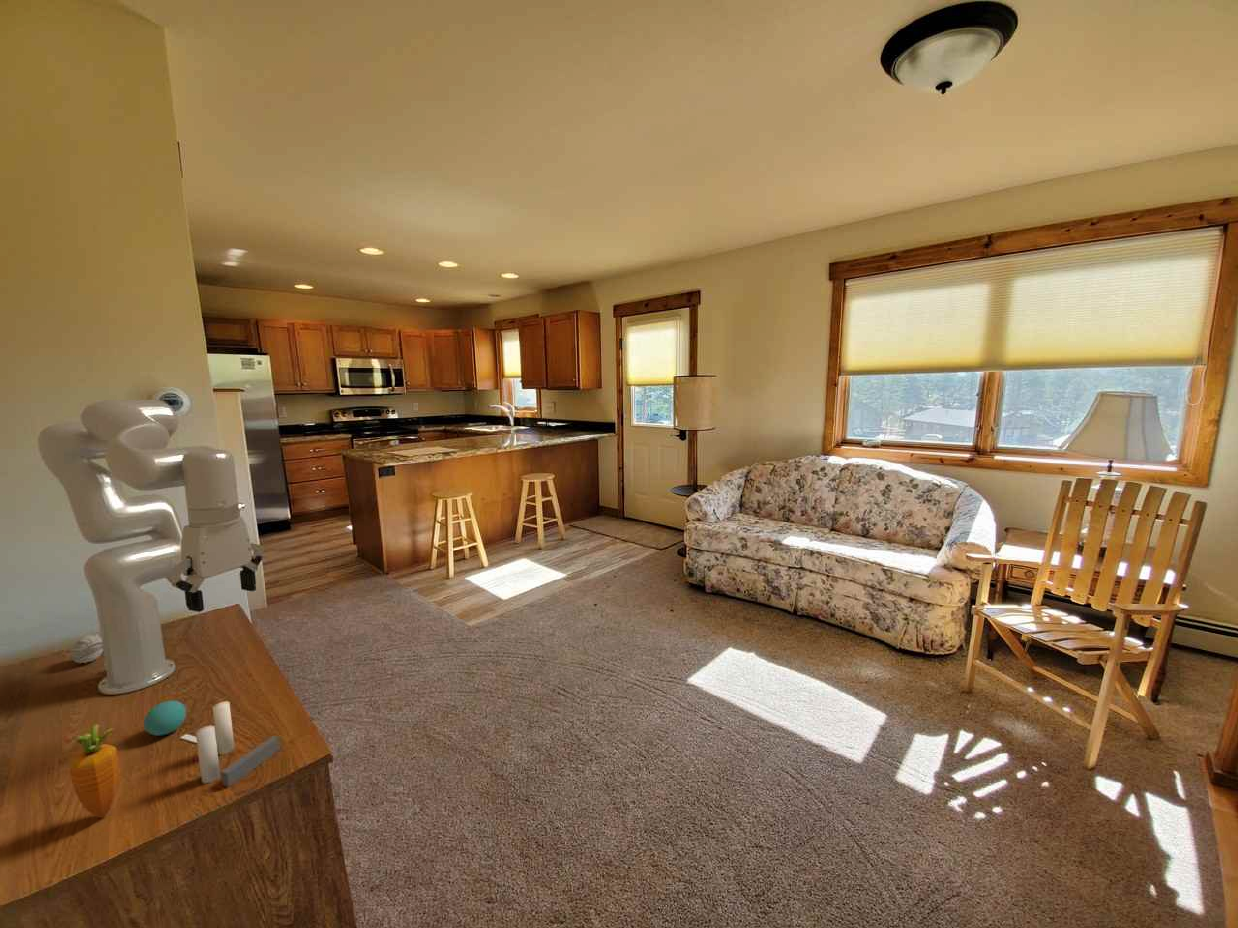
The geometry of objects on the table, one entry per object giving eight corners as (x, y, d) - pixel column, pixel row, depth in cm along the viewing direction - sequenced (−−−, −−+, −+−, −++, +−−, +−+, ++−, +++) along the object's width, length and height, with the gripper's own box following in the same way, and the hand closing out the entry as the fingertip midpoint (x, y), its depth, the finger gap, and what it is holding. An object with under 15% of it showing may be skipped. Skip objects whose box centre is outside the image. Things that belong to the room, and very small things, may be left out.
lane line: (180, 738, 92) (180, 737, 92) (186, 734, 93) (186, 733, 93) (213, 748, 89) (213, 747, 89) (219, 744, 90) (219, 743, 90)
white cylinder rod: (198, 781, 82) (192, 733, 81) (213, 770, 84) (207, 724, 83) (208, 784, 81) (202, 736, 80) (223, 774, 84) (217, 727, 82)
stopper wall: (222, 784, 81) (220, 771, 81) (274, 747, 90) (272, 735, 89) (228, 786, 81) (227, 773, 80) (280, 749, 89) (278, 737, 89)
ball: (138, 738, 92) (133, 710, 91) (174, 718, 98) (171, 691, 97) (159, 745, 90) (155, 716, 89) (195, 724, 96) (191, 697, 95)
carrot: (101, 804, 77) (87, 719, 75) (134, 802, 78) (122, 717, 75) (69, 832, 72) (53, 742, 70) (105, 830, 73) (90, 740, 71)
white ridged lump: (82, 671, 114) (77, 643, 113) (63, 666, 116) (58, 639, 115) (114, 658, 120) (110, 631, 119) (96, 653, 122) (92, 627, 121)
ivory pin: (214, 752, 88) (209, 708, 87) (228, 743, 91) (223, 700, 89) (224, 755, 88) (218, 710, 86) (237, 746, 90) (232, 702, 89)
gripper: (245, 503, 101) (253, 581, 103) (145, 524, 84) (157, 616, 87) (273, 506, 99) (280, 585, 101) (176, 528, 82) (187, 622, 85)
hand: (223, 599), depth 94 cm, fingers open, 9 cm apart
